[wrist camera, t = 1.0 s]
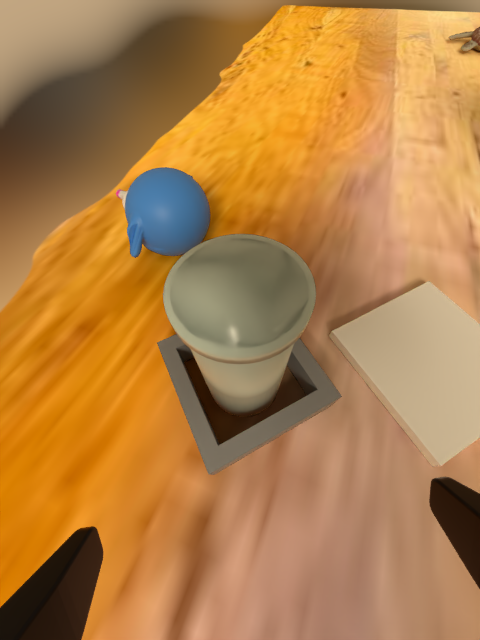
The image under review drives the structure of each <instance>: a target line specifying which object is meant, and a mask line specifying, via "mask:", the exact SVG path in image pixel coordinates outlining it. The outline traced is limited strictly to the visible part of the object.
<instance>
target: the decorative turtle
mask: <svg viewBox="0 0 480 640" xmlns="http://www.w3.org/2000/svg"><path fill="white" fill-rule="evenodd" d="M468 37H472V40H471V41H469V42H467V43H466V44H464V45H463V46H462V47H461V50H462V51H468V50H470V49H472V48H474V49H475V50H477V51H480V27H479V28H477V29H476V30H475V31H473V32H464V33H460V34H455V35H452V36H450V37H449V39H450V40H453V39H461V38H468Z"/></svg>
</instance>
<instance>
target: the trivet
mask: <svg viewBox="0 0 480 640" xmlns="http://www.w3.org/2000/svg"><path fill="white" fill-rule="evenodd" d="M329 337H330V338H331V339H332V341H333V342H334V343H335V344H336V346H337V347H338V348H339V349H340V351H341V352H342V353H343V355H344V356H345V357H346V358H347V360H348V361H349V362H350V363H351V365H352V366H353V367H354V368H355V370H356V371H357V372H358V373H359V375H360V376H361V377H362V378H363V380H364V381H365V382H366V384H367V385H368V386H369V387H370V389H371V390H372V391H373V392H374V394H375V395H376V396H377V397H378V399H379V400H380V401H381V402H382V404H383V405H384V406H385V407H386V409H387V410H388V411H389V413H390V414H391V415H392V416H393V418H394V419H395V420H396V421H397V423H398V424H399V425H400V426H401V428H402V429H403V430H404V431H405V433H406V434H407V435H408V436H409V438H410V439H411V440H412V442H413V443H414V444H415V445H416V447H417V448H418V449H419V450H420V452H421V453H422V454H423V455H424V457H425V458H426V459H427V460H428V462H429V463H430V464H431V465H432V466H442V465H443V464H444V463H446V462H447V461H448V460H450V459H451V458H452V457H454V456H455V455H457V454H458V453H459V452H461V451H462V450H463V449H465V448H466V447H468V446H469V445H470V444H472V443H473V442H474V441H476V440H477V439H478V438H480V324H479V323H478V322H477V321H475V320H474V319H473V318H472V317H471V316H469V315H468V314H467V313H466V312H465V311H464V310H462V309H461V308H460V307H459V306H458V305H457V304H455V303H454V302H453V301H452V300H451V299H450V298H448V297H447V296H446V295H445V294H444V293H443V292H441V291H440V290H439V289H438V288H437V287H436V286H434V285H433V284H432V283H431V282H430V281H428V282H426V283H424V284H422V285H420V286H418V287H416V288H414V289H412V290H411V291H409V292H407V293H405V294H403V295H401V296H399V297H397V298H395V299H393V300H391V301H389V302H387V303H385V304H383V305H381V306H379V307H378V308H376V309H374V310H372V311H370V312H368V313H366V314H364V315H362V316H360V317H358V318H356V319H354V320H352V321H350V322H348V323H346V324H345V325H343V326H341V327H339V328H337V329H335V330H333V331H332V332H331V333H330V335H329Z"/></svg>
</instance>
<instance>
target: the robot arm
mask: <svg viewBox="0 0 480 640" xmlns="http://www.w3.org/2000/svg"><path fill="white" fill-rule="evenodd" d="M429 503H430V507H431V510H432V512H433V514H434V516H435V517H436V519H437V521H438V522H439V524H440V526H441V527H442V529H443V530H444V532H445V534H446V535H447V537H448V539H449V540H450V542H451V544H452V545H453V547H454V549H455V550H456V552H457V553H458V555H459V557H460V558H461V560H462V562H463V563H464V565H465V567H466V568H467V570H468V571H469V573H470V575H471V576H472V578H473V579H474V581H475V582H476V584H477V585H478V587H479V588H480V494H479V493H478V492H476V491H474V490H472V489H470V488H468V487H467V486H465V485H463V484H461V483H459V482H457V481H455V480H454V479H452V478H449V477H440V478H434V479H432V481H431V487H430V499H429ZM102 560H103V547H102V544H101V541H100V537H99V534H98V531H97V528H95V527H93V526H92V527H85V528H80V529H78V530H77V531H75V532H74V533H73V534H72V535H71V536H70V537H69V538H68V539H67V540H66V541H65V542H64V543H63V544H62V545H61V546H60V547H59V549H58V550H57V551H56V552H55V553H54V554H53V555H52V556H51V557H50V558H49V559H48V560H47V561H46V562H45V563H44V564H43V565H42V566H41V567H40V568H39V569H38V570H37V571H36V572H35V573H34V574H33V575H32V576H31V577H30V578H29V579H28V580H27V581H26V582H25V583H24V584H23V585H22V586H21V587H20V588H19V589H18V590H17V591H16V592H15V593H14V594H13V595H12V596H11V597H10V598H9V599H8V600H7V601H6V602H5V603H4V604H3V605H2V606H1V607H0V640H81V639H82V636H83V632H84V629H85V625H86V621H87V617H88V613H89V610H90V606H91V602H92V598H93V595H94V591H95V587H96V583H97V579H98V576H99V572H100V568H101V564H102Z"/></svg>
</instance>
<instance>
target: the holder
mask: <svg viewBox="0 0 480 640" xmlns="http://www.w3.org/2000/svg"><path fill="white" fill-rule="evenodd" d="M157 344H158V346H159V349H160V352H161V354H162V357H163V359H164V362H165V364H166V367H167V369H168V372H169V374H170V377H171V380H172V382H173V385H174V387H175V390H176V392H177V395H178V397H179V400H180V402H181V405H182V408H183V410H184V413H185V415H186V418H187V420H188V423H189V425H190V428H191V430H192V433H193V436H194V438H195V441H196V443H197V446H198V448H199V451H200V453H201V456H202V459H203V461H204V464H205V466H206V469H207V471H208V474H211V475H215V474H216V473H218V472H220V471H221V470H223V469H225V468H226V467H228V466H230V465H232V464H233V463H235V462H237V461H238V460H240V459H242V458H243V457H245V456H247V455H248V454H250V453H252V452H254V451H255V450H257V449H259V448H260V447H262V446H264V445H265V444H267V443H269V442H271V441H272V440H274V439H276V438H277V437H279V436H281V435H282V434H284V433H286V432H287V431H289V430H291V429H293V428H294V427H296V426H298V425H299V424H301V423H303V422H304V421H306V420H308V419H309V418H311V417H313V416H315V415H316V414H318V413H320V412H321V411H323V410H325V409H326V408H328V407H330V406H331V405H332V404H334V403H335V402H336V401H337V400H338V399H339V398H340V397H342V396H341V394H340V393H339V392H338V390H337V389H336V388H335V386H334V385H333V383H332V382H331V381H330V379H329V378H328V376H327V375H326V374H325V372H324V371H323V370H322V368H321V367H320V365H319V364H318V363H317V361H316V360H315V358H314V357H313V356H312V354H311V353H310V352H309V350H308V349H307V347H306V346H305V345H304V343H303V342H302V341H301V339H300V338H299V339H298V340H297V341H296V342H295V343H294V345H293V348H292V351H291V354H290V357H289V360H288V363H287V366H288V367H289V369H290V370H291V372H292V374H293V375H294V377H295V378H296V380H297V381H298V383H299V384H300V386H301V387H302V389H303V390H304V392H305V393H306V395H307V396H305V397H303V398H302V399H300V400H298V401H296V402H295V403H293V404H291V405H289V406H288V407H286V408H284V409H282V410H280V411H279V412H277V413H275V414H273V415H272V416H270V417H268V418H266V419H265V420H263V421H261V422H259V423H257V424H256V425H254V426H252V427H250V428H249V429H247V430H245V431H243V432H242V433H240V434H238V435H236V436H235V437H233V438H231V439H229V440H227V441H226V442H224V443H222V444H219V442H218V439H217V437H216V435H215V433H214V430H213V428H212V426H211V423H210V421H209V419H208V416H207V414H206V412H205V410H204V407H203V405H202V403H201V400H200V398H199V396H198V393H197V391H196V389H195V386H194V384H193V382H192V380H191V377H190V375H189V373H188V370H187V368H186V366H185V363H184V362H186V361H188V360H190V359H192V358H194V355H193V353H192V351H191V349H190V348H189V347H188V346H187V345H186V344H185V343H183V341H182V340H181V339H180V338H179V337H178V335H177V334H176V335H173V336H171V337H169V338H167V339H164V340H162V341H160V342H158V343H157Z"/></svg>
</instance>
